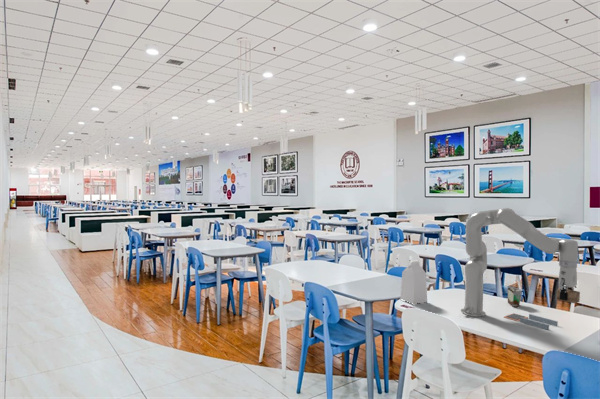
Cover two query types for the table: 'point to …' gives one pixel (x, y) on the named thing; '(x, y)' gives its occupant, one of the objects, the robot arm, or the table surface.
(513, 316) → the pad
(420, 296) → the milk
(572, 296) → the walnut block
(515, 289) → the food container
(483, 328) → the table surface
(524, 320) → the channel
